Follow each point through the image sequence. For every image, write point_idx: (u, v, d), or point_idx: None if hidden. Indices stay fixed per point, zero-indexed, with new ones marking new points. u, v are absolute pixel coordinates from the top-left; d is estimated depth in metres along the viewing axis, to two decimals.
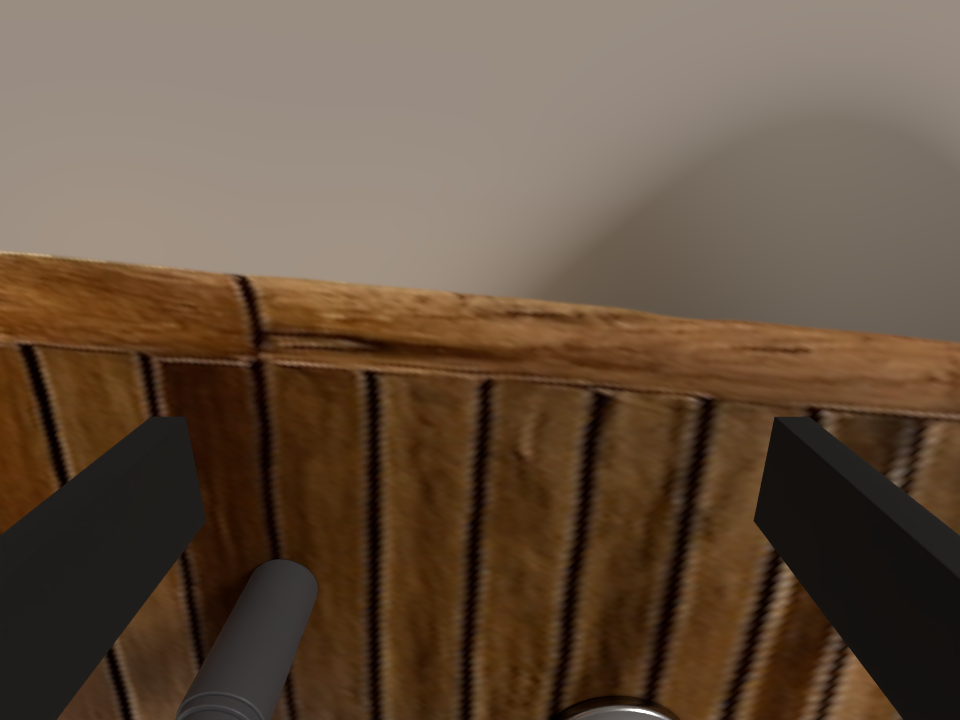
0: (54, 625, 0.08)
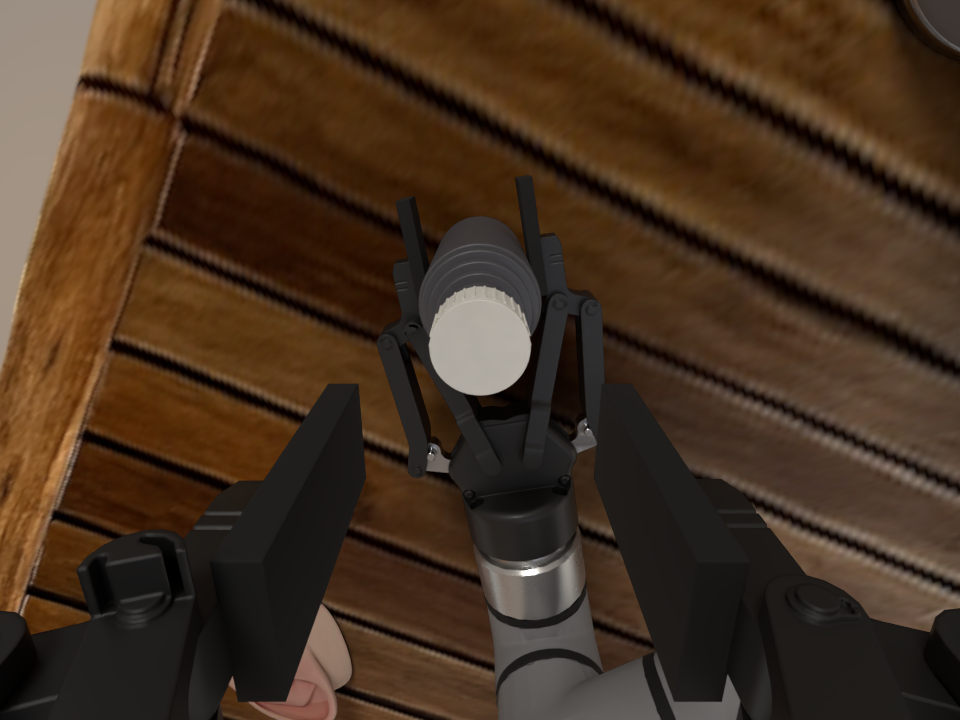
0: (314, 543, 0.10)
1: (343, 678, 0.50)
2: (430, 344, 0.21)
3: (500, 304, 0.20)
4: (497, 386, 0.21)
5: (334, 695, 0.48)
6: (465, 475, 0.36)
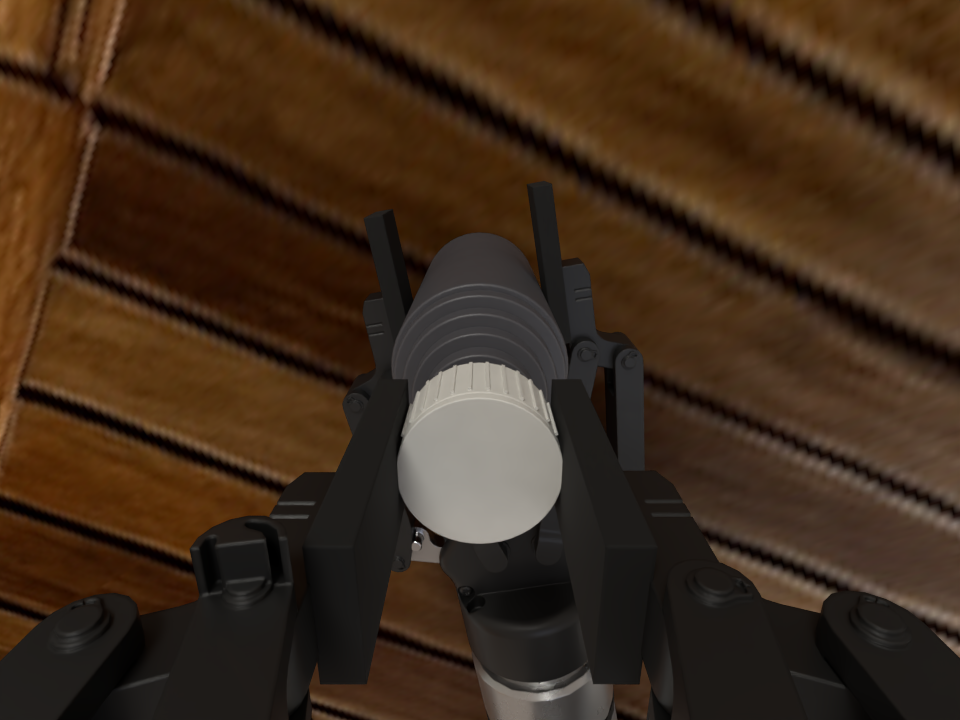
0: (382, 533, 0.10)
1: None
2: (397, 467, 0.12)
3: (514, 405, 0.12)
4: (508, 530, 0.13)
5: None
6: (461, 568, 0.28)
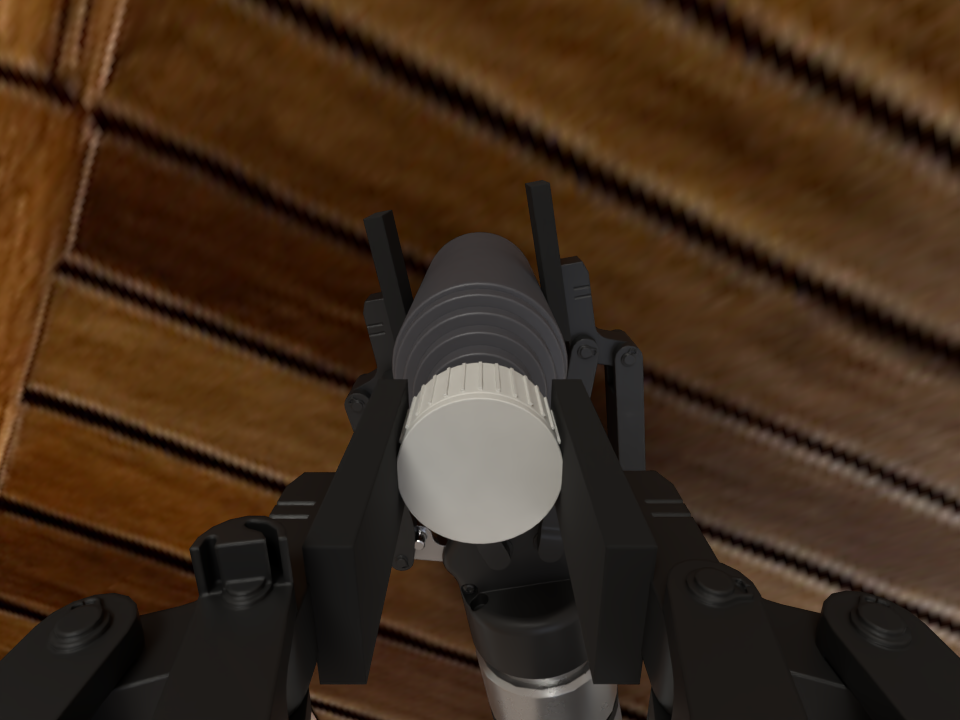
0: (382, 533, 0.10)
1: None
2: (532, 526, 0.13)
3: (405, 502, 0.13)
4: (504, 413, 0.12)
5: None
6: (464, 566, 0.28)
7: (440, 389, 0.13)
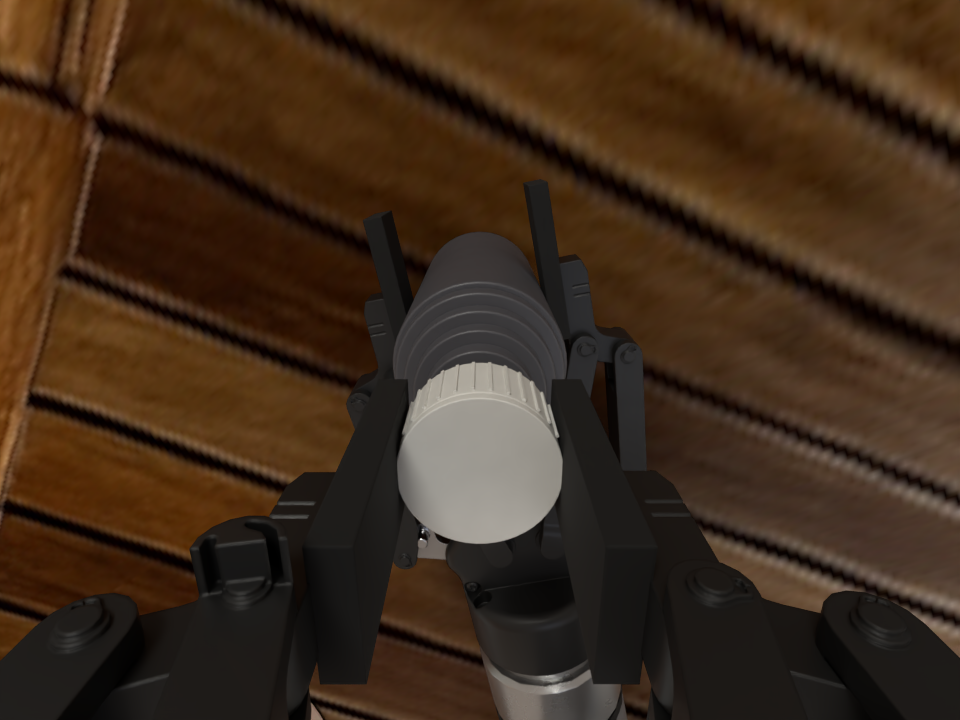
0: (382, 533, 0.10)
1: None
2: (482, 399, 0.12)
3: (556, 497, 0.13)
4: (417, 504, 0.13)
5: None
6: (467, 564, 0.28)
7: None
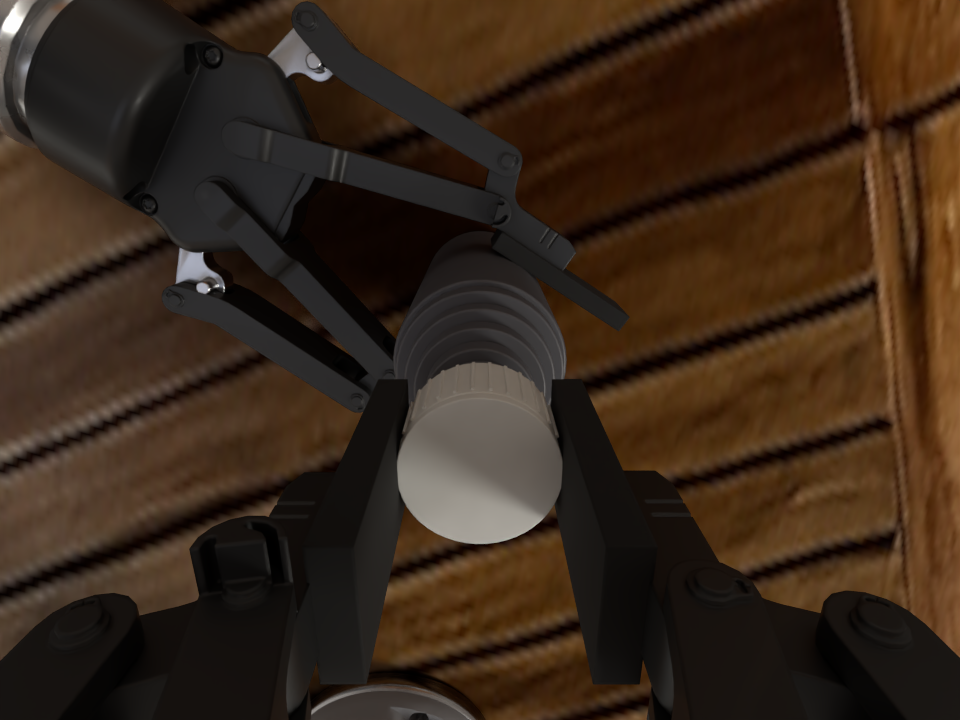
0: (382, 533, 0.10)
1: None
2: (482, 399, 0.12)
3: (556, 498, 0.13)
4: (416, 504, 0.13)
5: None
6: (248, 81, 0.21)
7: None
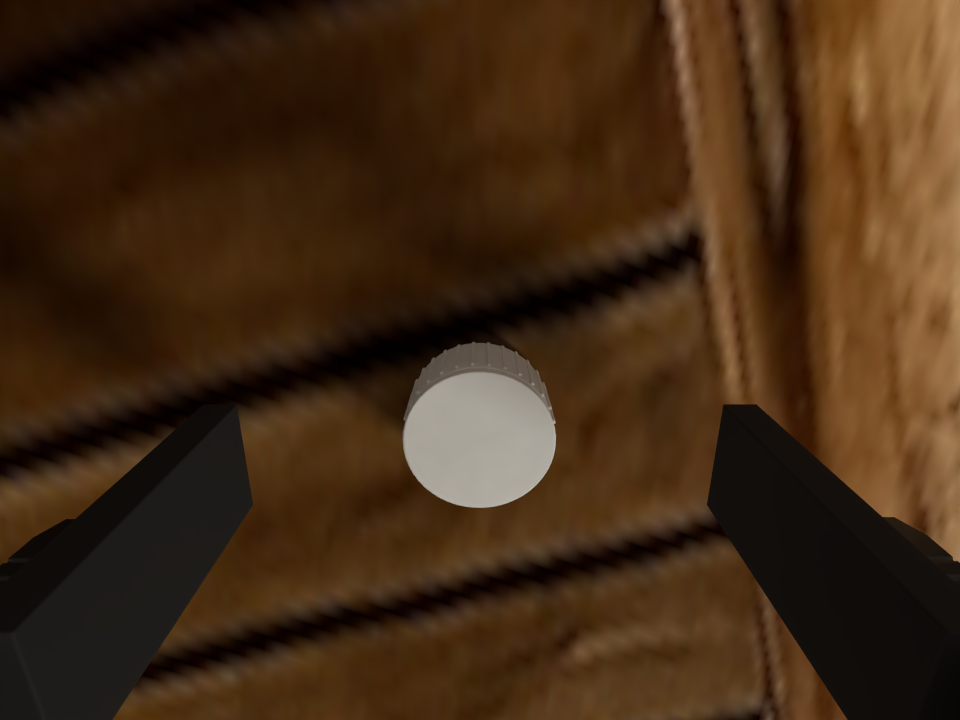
0: (135, 593, 0.09)
1: None
2: (481, 373, 0.13)
3: (549, 464, 0.14)
4: (421, 470, 0.14)
5: None
6: None
7: None
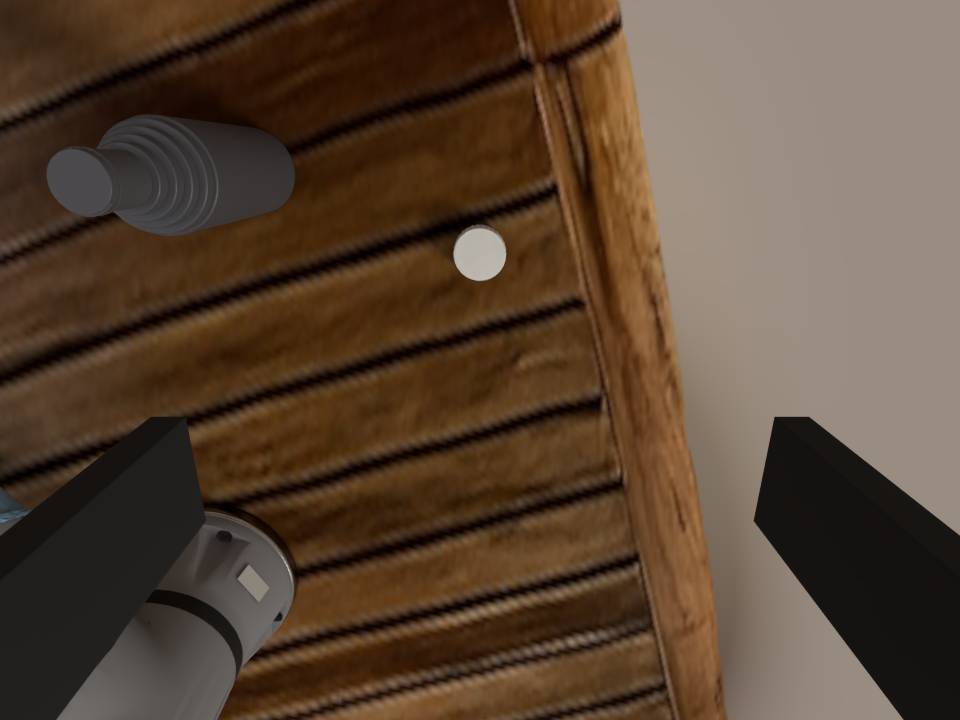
0: (54, 625, 0.08)
1: None
2: (480, 228, 0.39)
3: (503, 263, 0.40)
4: (460, 265, 0.40)
5: None
6: None
7: None
